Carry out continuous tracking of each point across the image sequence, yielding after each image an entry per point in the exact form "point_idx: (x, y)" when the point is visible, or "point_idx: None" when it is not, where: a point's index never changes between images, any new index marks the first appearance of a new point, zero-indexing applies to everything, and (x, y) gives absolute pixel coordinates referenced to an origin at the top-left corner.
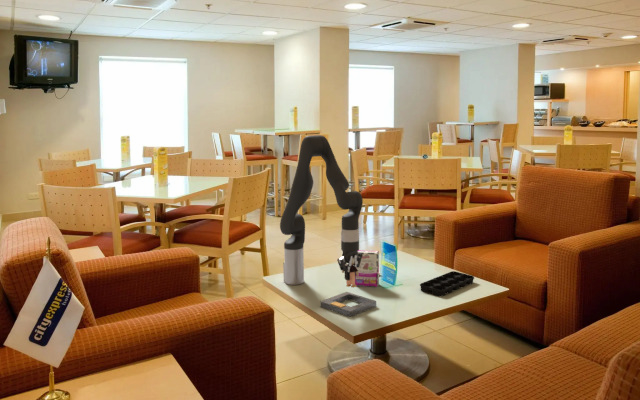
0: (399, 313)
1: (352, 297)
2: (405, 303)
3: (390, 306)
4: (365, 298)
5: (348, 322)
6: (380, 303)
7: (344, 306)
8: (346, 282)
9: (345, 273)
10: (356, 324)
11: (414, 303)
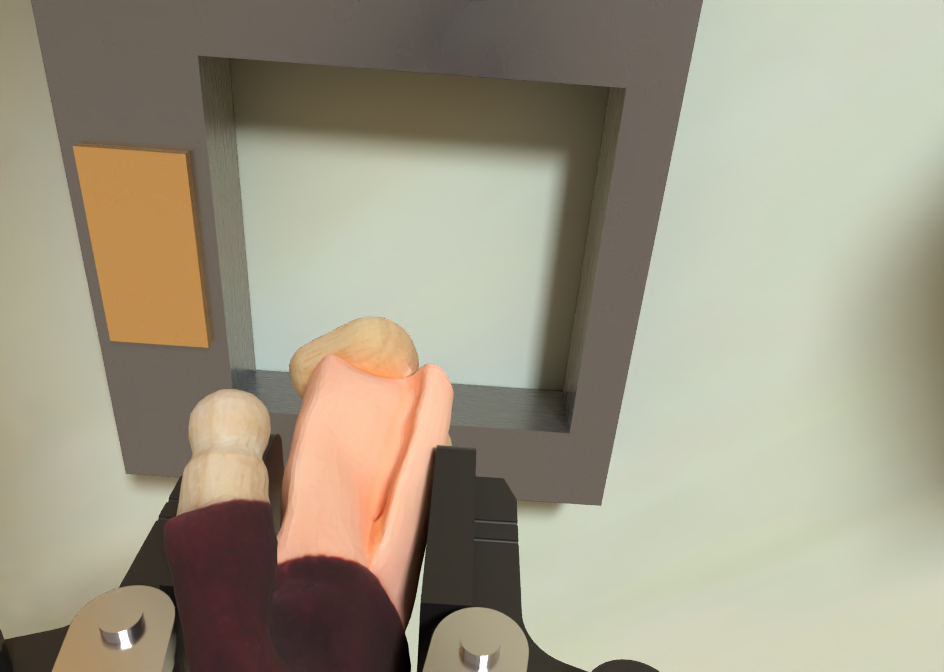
0: (569, 663)
1: (608, 147)
2: (842, 600)
3: (684, 546)
4: (601, 374)
5: (57, 483)
6: (710, 442)
7: (179, 344)
8: (317, 371)
9: (146, 582)
10: (91, 551)
11: (882, 648)
